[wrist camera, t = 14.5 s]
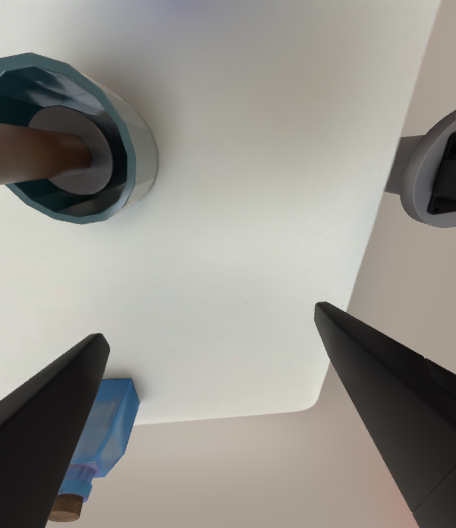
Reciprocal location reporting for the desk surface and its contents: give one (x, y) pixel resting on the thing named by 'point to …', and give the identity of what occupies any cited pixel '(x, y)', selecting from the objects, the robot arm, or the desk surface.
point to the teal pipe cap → (86, 100)
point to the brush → (64, 151)
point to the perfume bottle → (97, 446)
